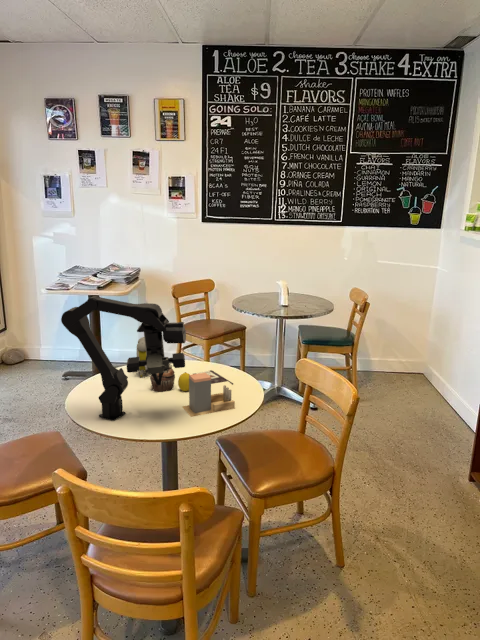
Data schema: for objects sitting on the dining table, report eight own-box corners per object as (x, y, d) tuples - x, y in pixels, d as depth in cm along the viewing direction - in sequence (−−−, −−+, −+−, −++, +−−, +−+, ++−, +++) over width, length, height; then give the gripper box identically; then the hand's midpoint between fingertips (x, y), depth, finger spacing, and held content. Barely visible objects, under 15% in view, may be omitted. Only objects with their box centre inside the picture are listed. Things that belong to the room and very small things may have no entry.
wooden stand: (191, 419, 155) (190, 399, 154) (181, 409, 163) (181, 390, 161) (235, 410, 162) (235, 392, 161) (224, 401, 170) (224, 383, 168)
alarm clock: (138, 369, 202) (137, 335, 199) (154, 368, 203) (153, 335, 200) (137, 378, 191) (135, 343, 188) (154, 377, 192) (153, 342, 189)
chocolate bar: (213, 387, 181) (192, 373, 196) (213, 389, 182) (192, 375, 196) (233, 383, 186) (211, 370, 201) (233, 385, 186) (211, 372, 201)
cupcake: (177, 384, 186) (177, 360, 183) (171, 393, 176) (171, 368, 174) (154, 383, 187) (153, 359, 184) (147, 392, 177) (146, 367, 175)
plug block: (194, 413, 158) (194, 379, 155) (189, 407, 162) (189, 374, 159) (210, 410, 160) (211, 377, 157) (205, 404, 164) (205, 372, 162)
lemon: (179, 395, 175) (179, 375, 173) (177, 390, 180) (177, 370, 178) (194, 394, 176) (194, 374, 174) (191, 388, 181) (191, 369, 179)
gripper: (122, 356, 143) (128, 400, 149) (183, 351, 145) (187, 394, 151) (125, 341, 153) (131, 383, 159) (182, 336, 155) (186, 377, 161)
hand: (158, 384), depth 157 cm, fingers closed
